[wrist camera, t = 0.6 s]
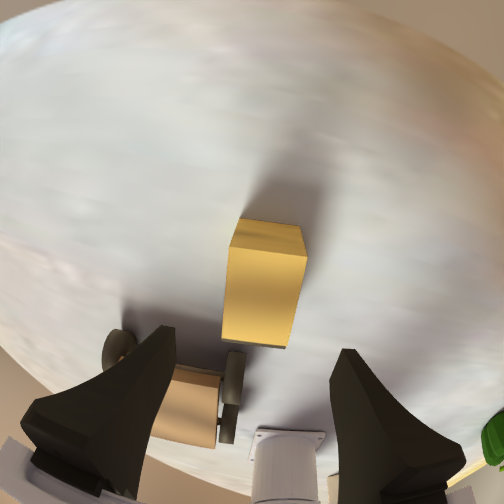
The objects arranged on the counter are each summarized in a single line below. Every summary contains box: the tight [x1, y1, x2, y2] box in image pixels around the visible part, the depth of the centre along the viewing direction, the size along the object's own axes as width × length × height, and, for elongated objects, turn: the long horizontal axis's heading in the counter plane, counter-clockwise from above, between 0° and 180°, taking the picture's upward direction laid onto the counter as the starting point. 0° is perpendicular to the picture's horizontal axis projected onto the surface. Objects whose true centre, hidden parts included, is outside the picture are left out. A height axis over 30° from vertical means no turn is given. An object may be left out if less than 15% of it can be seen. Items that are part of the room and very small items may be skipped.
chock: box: [222, 218, 308, 349], centre depth 19 cm, size 7×4×5 cm, turn 173°
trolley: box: [102, 329, 247, 449], centre depth 24 cm, size 11×11×5 cm
